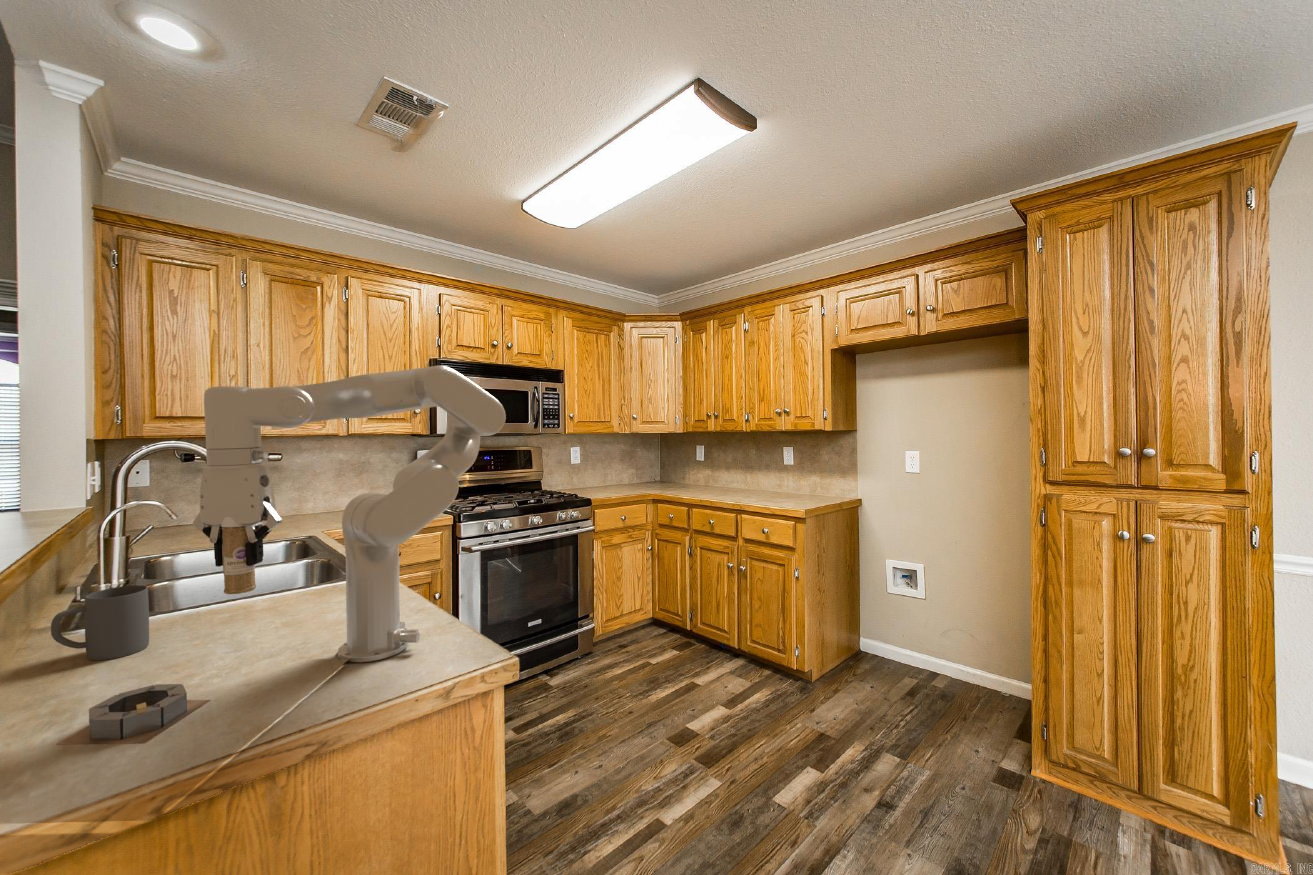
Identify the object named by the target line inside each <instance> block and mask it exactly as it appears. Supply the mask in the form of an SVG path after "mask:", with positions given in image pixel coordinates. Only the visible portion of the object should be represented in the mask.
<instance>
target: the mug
mask: <svg viewBox="0 0 1313 875" xmlns="http://www.w3.org/2000/svg"><path fill="white" fill-rule="evenodd" d="M149 604H150V603H149V589H148V586H145V585H137V584H136V585H124V586H118V587H117V586H116V587H110V588H106V589H101V590H97V591H94V592H91V593H88V594H86V596H85V597H84V605H82V606H79V607H73V608H70V609H66V610H63V611H61V612H58V613H57V614H56V615H54V617H53V619H52V620H51V623H50V635H51V636H52V639H53V640H54V641H55V642H56V643H58V644H60V645H63V646H64V647H69V648H72V649H79V650H80V649H85V654H86V658H87V659H88V660H90V661H108V660H115V659H118V658H123V657H127V656H130V655H133V654H136V653H139V652H141V651H143V650H145V649H147V647H149V644H150V606H149ZM79 613H84V639H85V641H83V642H82V641H81V642H80V641H74V640H71V639H69V638H67V637H65V635H64V636H63V634H62V633H61V629H60V628H61V621H62V620H63V618H64V617H66V616H70V615H75V614H79Z"/></svg>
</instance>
